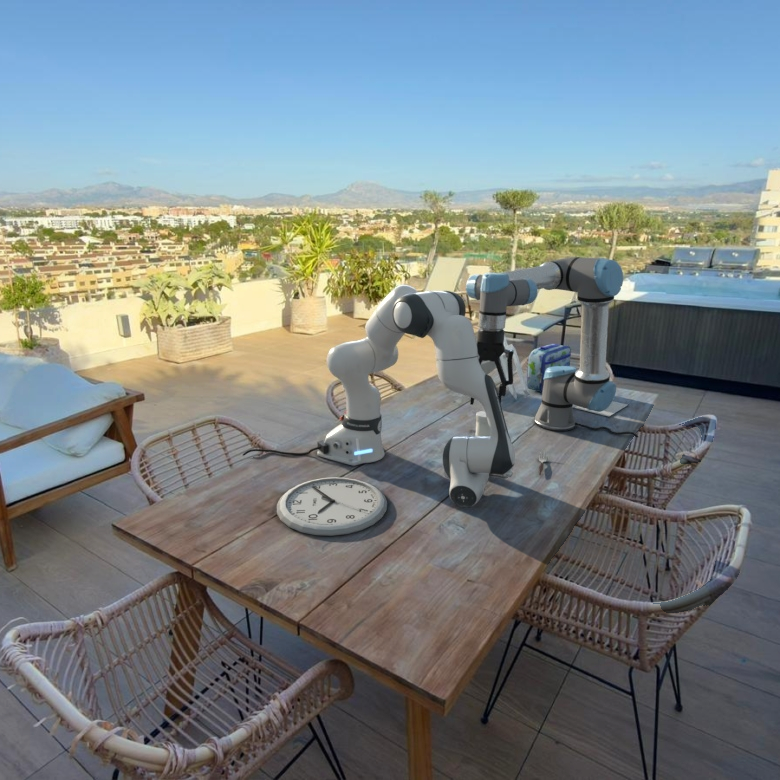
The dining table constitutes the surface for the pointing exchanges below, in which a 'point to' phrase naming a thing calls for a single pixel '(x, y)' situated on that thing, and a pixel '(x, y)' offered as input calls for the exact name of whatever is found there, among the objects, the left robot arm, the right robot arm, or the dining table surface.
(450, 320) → the left robot arm
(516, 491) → the dining table surface
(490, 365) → the white plastic object
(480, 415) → the lid
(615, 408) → the invitation card
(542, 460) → the fork
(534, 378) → the lunch box
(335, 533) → the wall clock
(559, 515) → the dining table surface
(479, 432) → the white plastic cylinder
